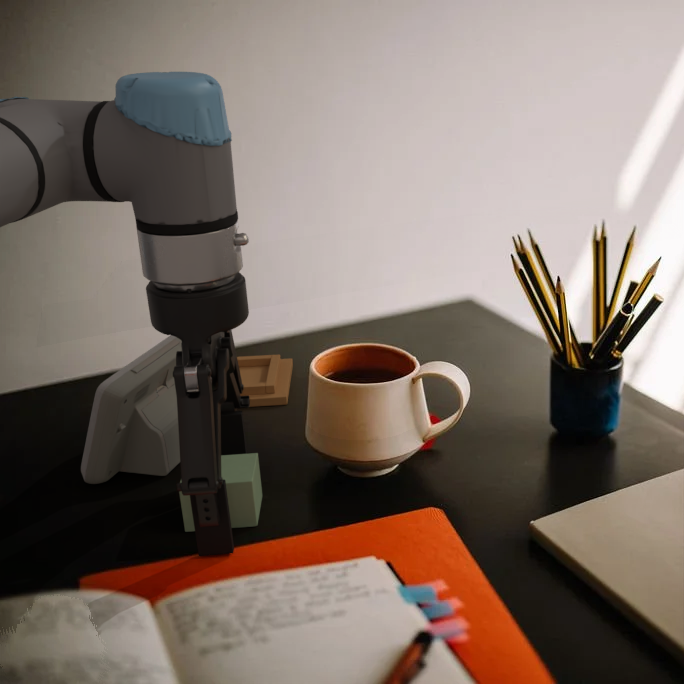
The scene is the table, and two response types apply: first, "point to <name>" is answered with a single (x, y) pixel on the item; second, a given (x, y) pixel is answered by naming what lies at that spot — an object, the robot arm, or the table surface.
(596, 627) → the table surface
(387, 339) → the table surface
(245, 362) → the socket pad
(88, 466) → the digital clock
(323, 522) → the table surface
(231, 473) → the green block
